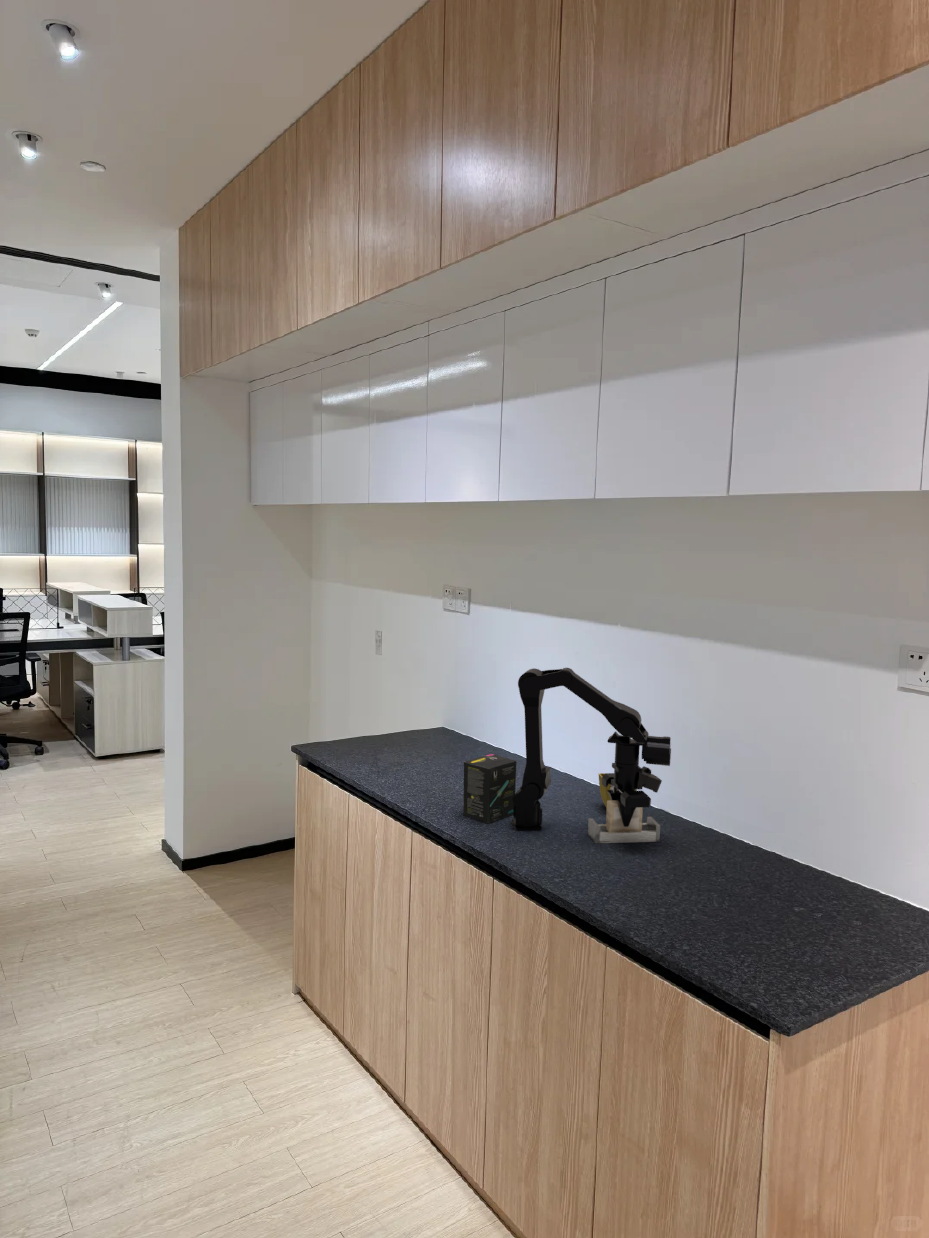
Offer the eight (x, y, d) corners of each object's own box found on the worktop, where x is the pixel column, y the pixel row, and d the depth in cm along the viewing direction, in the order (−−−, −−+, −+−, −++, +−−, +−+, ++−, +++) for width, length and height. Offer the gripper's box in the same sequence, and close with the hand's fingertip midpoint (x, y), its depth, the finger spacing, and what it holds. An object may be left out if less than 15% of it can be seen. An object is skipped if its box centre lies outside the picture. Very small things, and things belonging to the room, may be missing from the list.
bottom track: (595, 843, 198) (596, 827, 198) (588, 834, 205) (588, 818, 204) (659, 841, 201) (660, 825, 200) (650, 832, 207) (650, 816, 206)
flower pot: (596, 804, 227) (598, 772, 226) (628, 804, 228) (629, 772, 227) (604, 815, 218) (605, 782, 217) (637, 815, 219) (638, 782, 218)
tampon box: (489, 805, 224) (491, 752, 223) (515, 814, 218) (517, 759, 216) (461, 815, 216) (462, 760, 215) (487, 824, 210) (489, 767, 208)
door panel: (609, 832, 200) (611, 804, 200) (605, 828, 203) (607, 800, 203) (641, 831, 202) (643, 803, 201) (637, 827, 205) (638, 799, 204)
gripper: (673, 772, 193) (670, 837, 194) (644, 750, 211) (641, 810, 213) (627, 772, 191) (624, 838, 193) (602, 751, 209) (599, 811, 211)
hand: (623, 823), depth 202 cm, fingers closed on door panel, 3 cm apart
